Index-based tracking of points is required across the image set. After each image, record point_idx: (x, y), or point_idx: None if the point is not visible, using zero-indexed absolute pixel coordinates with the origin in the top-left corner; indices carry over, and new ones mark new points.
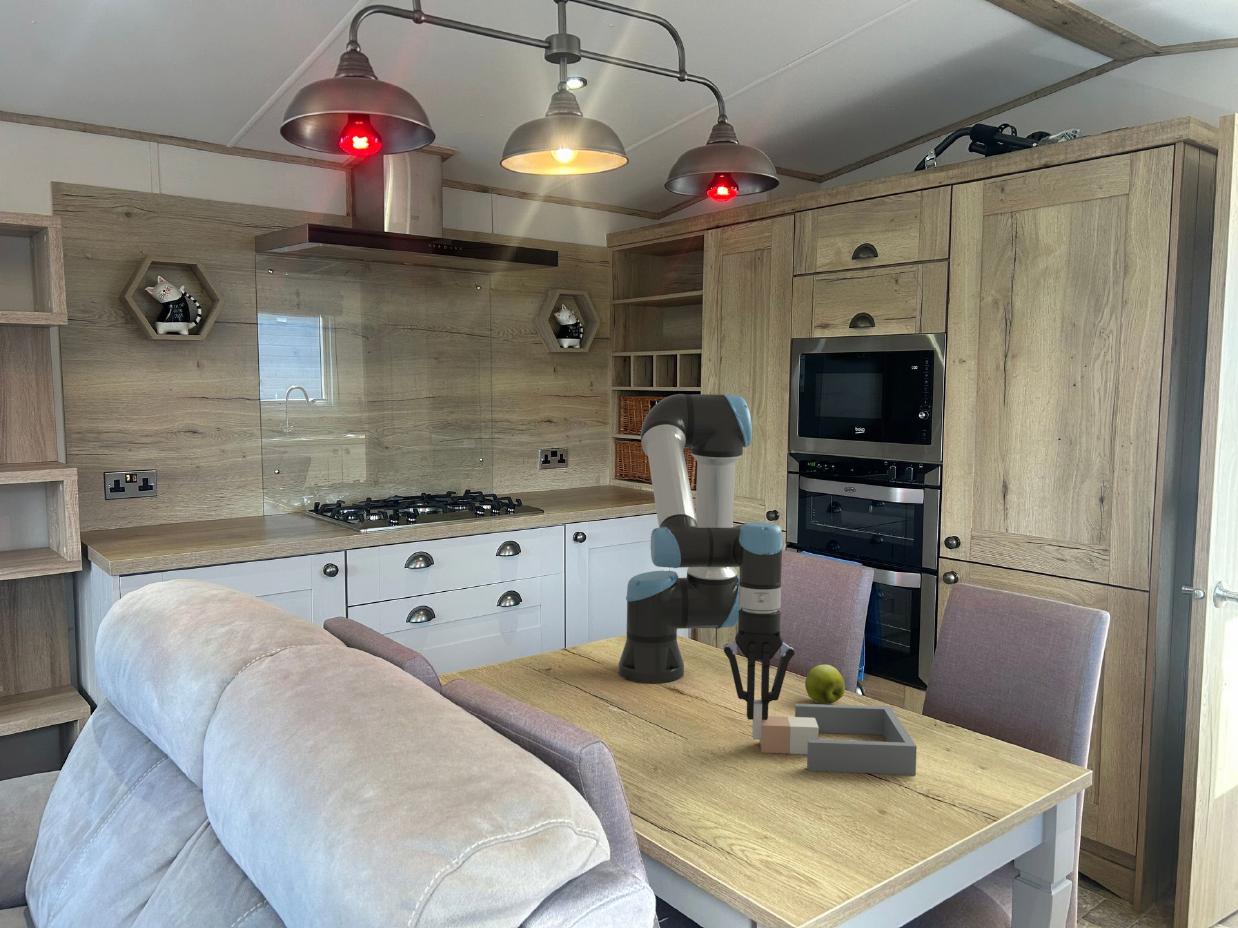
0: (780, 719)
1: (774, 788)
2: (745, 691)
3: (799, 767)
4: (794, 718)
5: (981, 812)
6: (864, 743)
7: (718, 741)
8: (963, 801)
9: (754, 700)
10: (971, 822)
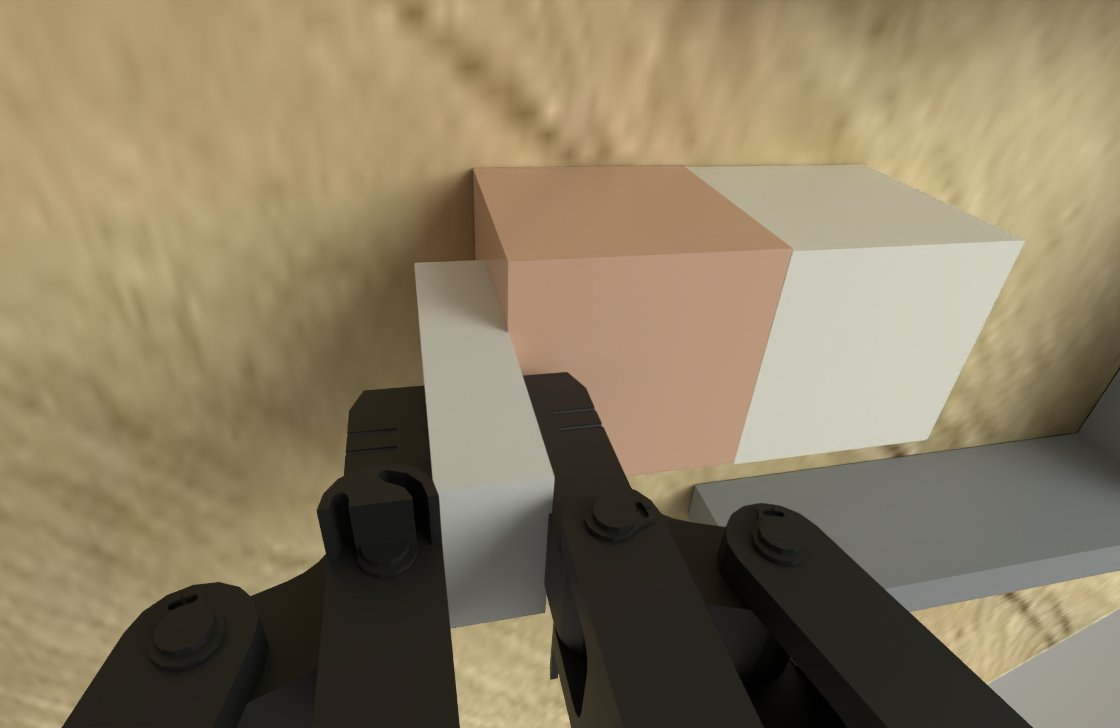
0: (701, 331)
1: (508, 668)
2: (298, 690)
3: (658, 491)
4: (839, 283)
5: (1057, 622)
6: (1022, 582)
7: (92, 192)
8: (1067, 584)
9: (454, 531)
10: (991, 666)
